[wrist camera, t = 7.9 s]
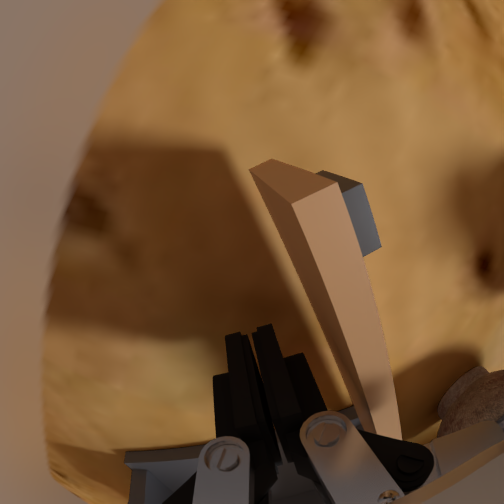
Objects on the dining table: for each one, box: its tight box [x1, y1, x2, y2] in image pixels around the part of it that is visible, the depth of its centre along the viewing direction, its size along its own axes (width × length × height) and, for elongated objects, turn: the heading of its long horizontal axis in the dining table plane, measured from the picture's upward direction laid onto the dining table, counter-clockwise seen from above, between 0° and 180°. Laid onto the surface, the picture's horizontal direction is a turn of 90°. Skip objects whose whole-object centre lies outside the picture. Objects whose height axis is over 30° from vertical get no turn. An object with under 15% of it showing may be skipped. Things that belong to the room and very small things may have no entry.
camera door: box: [249, 159, 402, 440], centre depth 10 cm, size 16×2×5 cm, turn 25°
